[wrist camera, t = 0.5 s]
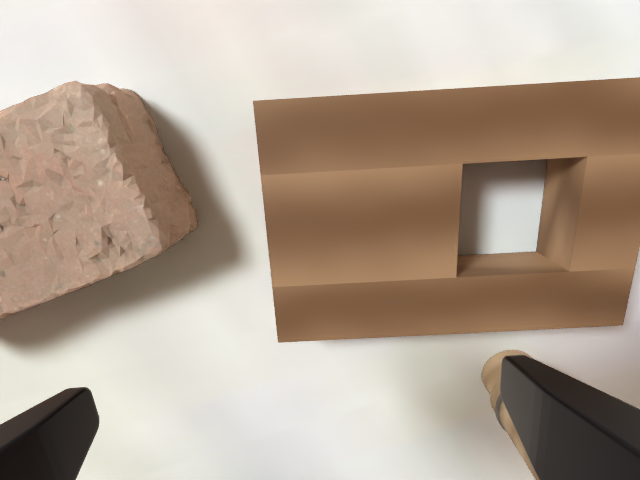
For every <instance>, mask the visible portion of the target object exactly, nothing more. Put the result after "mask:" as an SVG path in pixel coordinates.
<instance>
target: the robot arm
mask: <svg viewBox="0 0 640 480" xmlns="http://www.w3.org/2000/svg"><path fill="white" fill-rule="evenodd" d="M500 393H501V397H502V400H503V403H504V405H505V407H506V409H507V411H508V414H509V416H510V418H511V420H512V422H513V425H514V427H515V429H516V431H517V433H518V436H519V438H520V440H521V442H522V445H523V447H524V449H525V451H526V453H527V456H528V458H529V460H530V462H531V464H532V466H533V468H534V470H535V472H536V474H537V476H538V478H539V479H540V480H640V409H638V408H636V407H634V406H632V405H629V404H627V403H625V402H623V401H621V400H619V399H617V398H615V397H613V396H610V395H608V394H606V393H604V392H602V391H600V390H598V389H596V388H593V387H591V386H589V385H587V384H585V383H583V382H581V381H579V380H576V379H574V378H572V377H570V376H568V375H566V374H564V373H562V372H560V371H557V370H555V369H553V368H551V367H549V366H547V365H545V364H543V363H540V362H538V361H536V360H534V359H532V358H530V357H528V356H526V355H509V356H505V357H504V358H503V359H502V364H501V380H500ZM98 427H99V415H98V412H97V409H96V405H95V402H94V399H93V396H92V393H91V391H90V390H89V389H88V388H86V387H80V388H69V389H66V390H64V391H62V392H60V393H58V394H56V395H55V396H53V397H51V398H49V399H47V400H45V401H43V402H42V403H40V404H38V405H36V406H34V407H32V408H30V409H29V410H27V411H25V412H23V413H21V414H19V415H17V416H16V417H14V418H12V419H10V420H8V421H6V422H4V423H3V424H1V425H0V480H76V478H77V475H78V473H79V471H80V469H81V466H82V464H83V462H84V460H85V457H86V455H87V453H88V451H89V448H90V446H91V444H92V442H93V439H94V437H95V435H96V433H97V430H98Z"/></svg>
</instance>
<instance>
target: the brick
mask: <svg viewBox="0 0 640 480" xmlns="http://www.w3.org/2000/svg"><path fill="white" fill-rule="evenodd" d="M191 202H192V199H191V197H190V194H189V193H188V192H187V191H186V189H185V188H184V187H183V185H182V184H181V183H180V181H179V178H178V176H176V175H175V173H174V170H173V168H172V166H171V163H170V160H169V158H168V157H167V156H166V153H165V152H164V151H163V144H162V142H161V140H160V138H159V137H158V133H157V129H156V126H155V123H154V121H153V119H152V117H151V116H150V114H149V113H148V111H147V109H146V107H145V106H144V104H143V102H142V100H141V99H140V98H139V97H138V96H137V95H136V94H135V93H134V92H133V91H132V90H128V89H119V88H117V87H115V86H112V85H110V84H108V83H106V84H99V85H89V84H82V83H79V82H77V81H72V82H68V83H65V84H62V85H60V86H58V87H56V88H53V89H52V90H50V91H49V92H46V93H44V94H41V95H38V96H34V97H31V98H29V99H27V100H25V101H24V102H22V103H19V104H16V105H13V106H11V107H8V108H6V109H4V110H2V111H0V319H2V318H4V317H6V316H9V315H11V314H13V313H16V312H19V311H22V310H25V309H28V308H30V307H33V306H36V305H39V304H41V303H44V302H47V301H49V300H52V299H54V298H57V297H60V296H62V295H65V294H67V293H70V292H73V291H75V290H78V289H81V288H84V287H86V286H89V285H92V284H93V283H95V282H97V281H99V280H102V279H105V278H107V277H109V276H112V275H114V274H117V273H119V272H123V271H126V270H128V269H131V268H133V267H136V266H137V265H139V264H141V263H143V262H145V261H147V260H148V259H150V258H153V257H155V256H157V255H160V254H161V253H162V252H163V251H165V250H167V249H168V248H170V247H171V246H173V245H174V244H176V243H177V242H178V241H179V240H181V239H182V238H183V237H184V236H185V235H187V234H188V233H190V232H191V231H193V230H194V229H196V228H197V223H198V221H197V217H196V212H195V209H194V208H193V206H192V204H191Z"/></svg>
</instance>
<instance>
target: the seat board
mask: <svg viewBox="0 0 640 480" xmlns="http://www.w3.org/2000/svg"><path fill="white" fill-rule="evenodd" d="M253 105H254V115H255V125H256V134H257V144H258V153H259V163H260V173H261V182H262V192H263V201H264V211H265V221H266V230H267V240H268V249H269V259H270V269H271V278H272V288H273V297H274V307H275V317H276V326H277V336H278V342H298V341H318V340H338V339H358V338H378V337H398V336H418V335H438V334H458V333H478V332H498V331H519V330H539V329H559V328H579V327H599V326H619V325H623V322H624V317H625V312H626V308H627V303H628V298H629V293H630V289H631V284H632V279H633V275H634V270H635V265H636V261H637V256H638V251H639V246H640V77H639V78H623V79H606V80H590V81H573V82H557V83H540V84H524V85H507V86H491V87H474V88H458V89H441V90H425V91H408V92H392V93H375V94H359V95H343V96H326V97H310V98H293V99H277V100H260V101H253ZM537 159H548V161H547V169H546V177H545V185H544V193H543V201H542V209H541V217H540V225H539V233H538V241H537V249H536V252H519V253H500V254H481V255H463V256H457V255H458V238H459V221H460V204H461V186H462V169H463V164H467V163H485V162H502V161H520V160H537Z"/></svg>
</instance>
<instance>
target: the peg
mask: <svg viewBox="0 0 640 480" xmlns="http://www.w3.org/2000/svg"><path fill="white" fill-rule="evenodd" d="M509 355H526V356H528V357H530V356H529V355H528V354H526V353H524V352H522V351H518V350H507V351H503V352H500V353H497V354H496V355H494V356H493V357H491V358H490V359H489V360H488V361H487V362H486V364H485V365H484V367H483V370H482V382H483V384H484V386H485V387H486V389H487V390H488V392H489V394H490V395H491V396H490V401H491V405H492V408H493V410H494V411H495V413H496V417H497V419H498V421H499V423H500V425H501V426H502V428H503V429H504V430H505V431H506V432H507V433H508V435H509V436H510V438H511V439H512V441H513V443H514V444H515V446H516V448H517V449H518V451H519V453H520V454H521V456H522V458H523V459H524V461H525V463H526V464H527V466H528V468H529V469H530V471H531V473H532V474H533V476H534V478H535V479H536V480H540V479H539V478H538V476H537V474H536V472H535V470H534V468H533V466H532V464H531V462H530V460H529V458H528V456H527V453H526V451H525V449H524V447H523V445H522V442H521V440H520V438H519V436H518V433H517V431H516V429H515V427H514V425H513V422H512V420H511V418H510V416H509V414H508V411H507V409H506V407H505V405H504V403H503V400H502V397H501V393H500V380H501V364H502V359H503V358H504V357H505V356H509ZM530 358H531V357H530Z"/></svg>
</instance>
